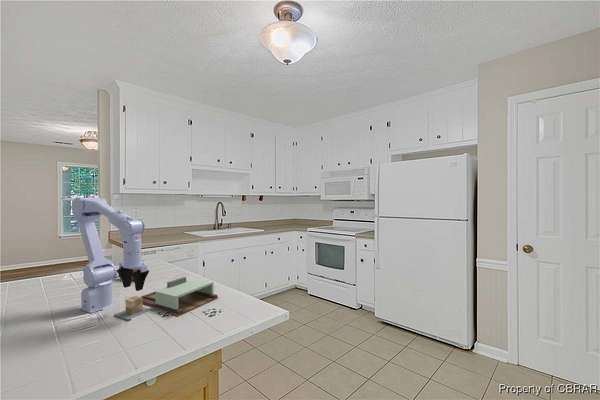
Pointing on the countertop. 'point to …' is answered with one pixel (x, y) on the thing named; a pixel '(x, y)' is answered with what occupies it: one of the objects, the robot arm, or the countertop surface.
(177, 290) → the cover
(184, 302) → the puzzle board
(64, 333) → the countertop surface
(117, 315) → the mat
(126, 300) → the block
